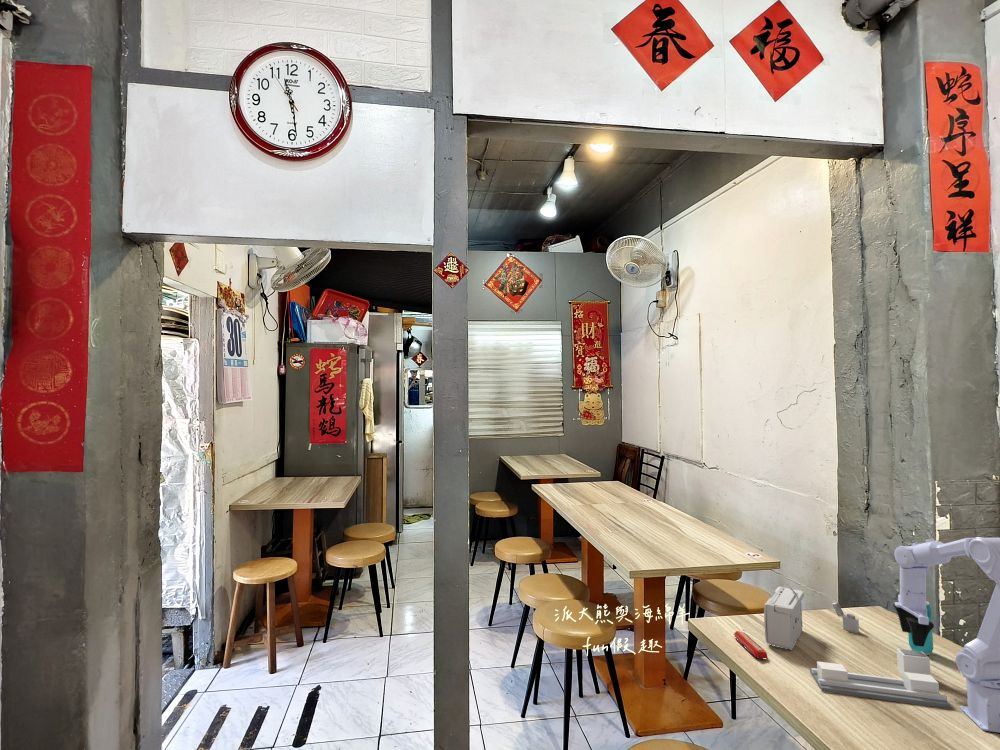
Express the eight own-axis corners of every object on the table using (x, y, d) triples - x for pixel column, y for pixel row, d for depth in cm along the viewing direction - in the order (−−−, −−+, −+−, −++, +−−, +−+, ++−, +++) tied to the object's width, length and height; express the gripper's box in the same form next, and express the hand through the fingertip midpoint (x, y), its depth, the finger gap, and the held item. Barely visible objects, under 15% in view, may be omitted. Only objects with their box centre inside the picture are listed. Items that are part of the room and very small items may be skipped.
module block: (930, 681, 138) (929, 657, 138) (904, 678, 139) (903, 654, 140) (923, 673, 142) (921, 650, 142) (897, 670, 143) (896, 648, 144)
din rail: (951, 708, 125) (950, 700, 125) (821, 691, 133) (821, 683, 133) (929, 687, 135) (929, 679, 135) (810, 672, 142) (809, 665, 143)
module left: (848, 685, 134) (847, 671, 134) (822, 682, 135) (821, 668, 136) (842, 677, 138) (841, 664, 138) (817, 674, 139) (816, 661, 140)
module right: (939, 697, 128) (938, 682, 128) (911, 693, 130) (910, 679, 130) (930, 688, 132) (930, 675, 132) (903, 685, 134) (902, 671, 134)
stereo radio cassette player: (778, 624, 174) (776, 564, 176) (806, 630, 169) (803, 569, 171) (764, 646, 158) (761, 580, 160) (794, 654, 153) (791, 586, 154)
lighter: (859, 632, 168) (858, 607, 169) (857, 633, 167) (856, 608, 167) (834, 624, 174) (833, 600, 174) (833, 626, 173) (831, 602, 173)
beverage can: (938, 657, 151) (935, 605, 152) (916, 655, 152) (913, 603, 153) (926, 648, 157) (923, 598, 158) (905, 646, 158) (902, 596, 159)
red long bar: (770, 662, 149) (769, 651, 149) (757, 662, 149) (757, 652, 149) (743, 637, 165) (743, 628, 165) (732, 638, 165) (731, 628, 165)
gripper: (885, 577, 149) (885, 623, 150) (905, 598, 136) (905, 649, 136) (915, 581, 147) (914, 628, 147) (938, 602, 133) (938, 654, 134)
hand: (912, 638), depth 141 cm, fingers open, 7 cm apart
